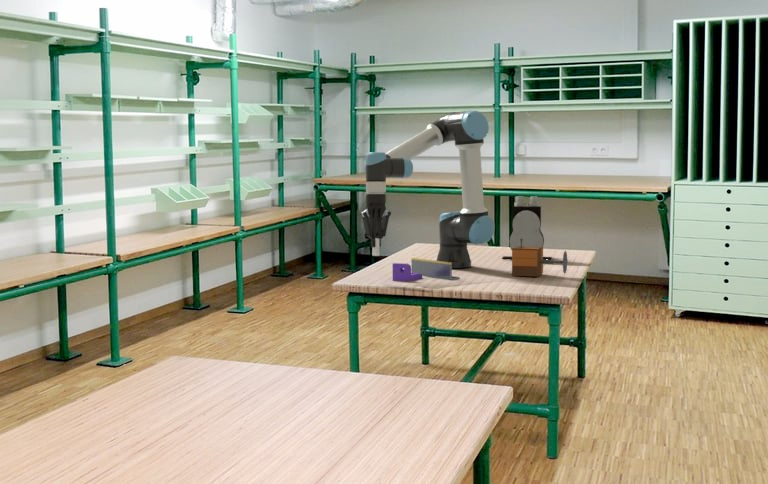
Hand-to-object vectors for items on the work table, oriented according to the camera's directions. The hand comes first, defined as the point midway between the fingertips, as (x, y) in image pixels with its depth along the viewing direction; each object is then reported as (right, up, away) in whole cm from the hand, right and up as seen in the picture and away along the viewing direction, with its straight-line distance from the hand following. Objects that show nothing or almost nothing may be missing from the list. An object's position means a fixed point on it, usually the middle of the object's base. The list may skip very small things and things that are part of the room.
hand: (375, 255), depth 326 cm
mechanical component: (+69, -4, +65) cm, 95 cm away
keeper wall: (+23, -9, +14) cm, 28 cm away
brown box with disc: (+65, -8, +17) cm, 68 cm away
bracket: (+12, -10, +6) cm, 17 cm away
